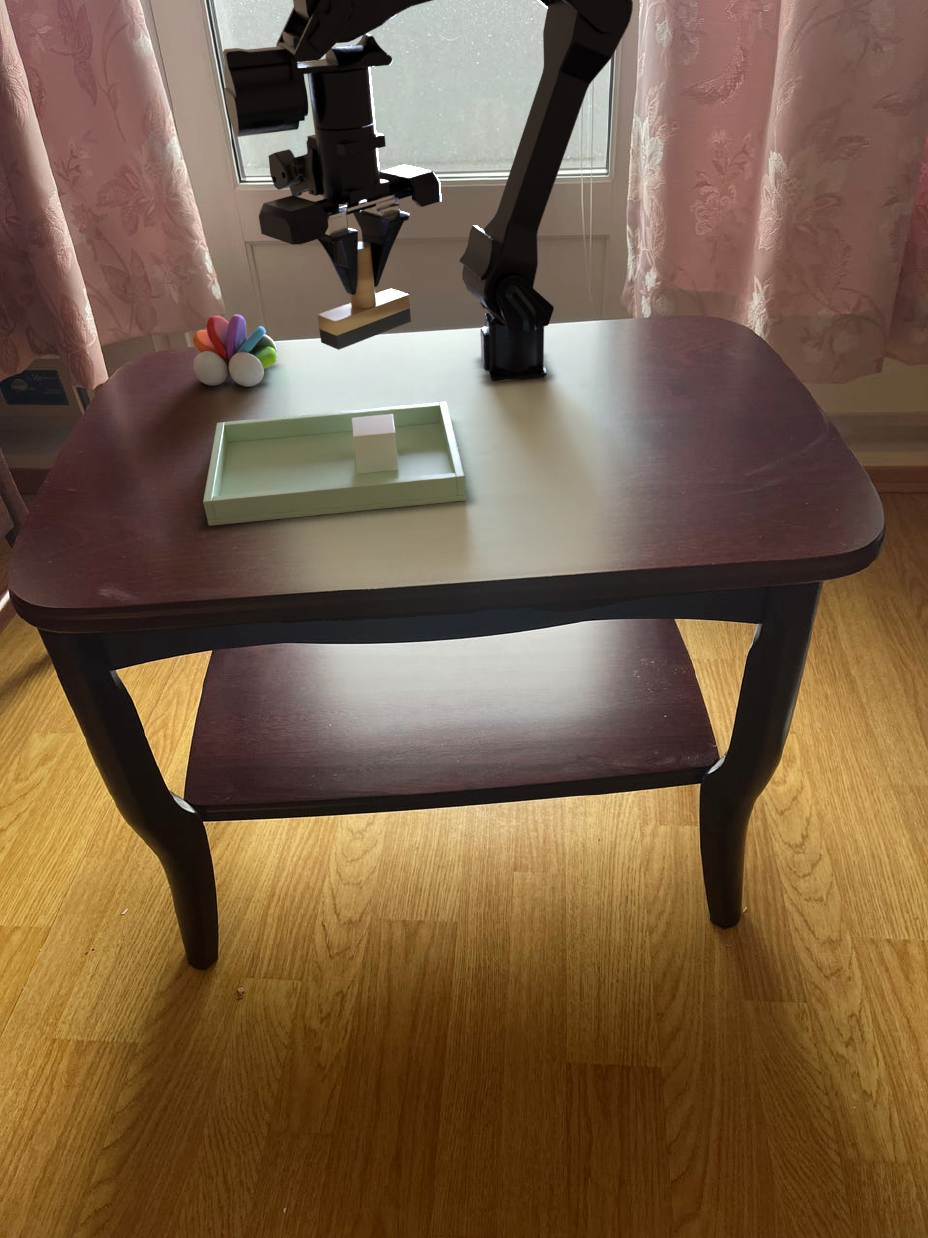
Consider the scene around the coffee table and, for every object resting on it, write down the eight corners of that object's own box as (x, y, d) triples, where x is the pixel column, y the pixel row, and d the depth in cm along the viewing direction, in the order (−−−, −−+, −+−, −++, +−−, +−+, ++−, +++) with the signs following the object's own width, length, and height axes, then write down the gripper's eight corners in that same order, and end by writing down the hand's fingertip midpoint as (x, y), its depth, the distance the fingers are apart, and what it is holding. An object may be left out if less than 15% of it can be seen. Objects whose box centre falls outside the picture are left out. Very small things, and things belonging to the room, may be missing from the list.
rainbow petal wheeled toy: (213, 359, 116) (201, 300, 111) (290, 361, 114) (280, 302, 110) (187, 389, 109) (172, 328, 105) (267, 392, 108) (256, 330, 103)
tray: (447, 423, 100) (446, 401, 98) (466, 500, 88) (464, 475, 86) (221, 445, 98) (216, 422, 97) (208, 526, 86) (202, 501, 85)
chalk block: (396, 450, 95) (392, 413, 92) (398, 470, 92) (395, 432, 89) (356, 454, 95) (351, 417, 92) (357, 474, 91) (352, 436, 89)
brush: (320, 342, 100) (308, 255, 94) (393, 314, 105) (385, 230, 99) (338, 349, 98) (327, 261, 92) (411, 321, 103) (404, 236, 97)
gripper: (367, 97, 98) (381, 251, 108) (212, 131, 89) (243, 296, 98) (440, 109, 92) (448, 272, 102) (281, 147, 82) (307, 323, 92)
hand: (362, 289), depth 99 cm, fingers closed on brush, 2 cm apart
